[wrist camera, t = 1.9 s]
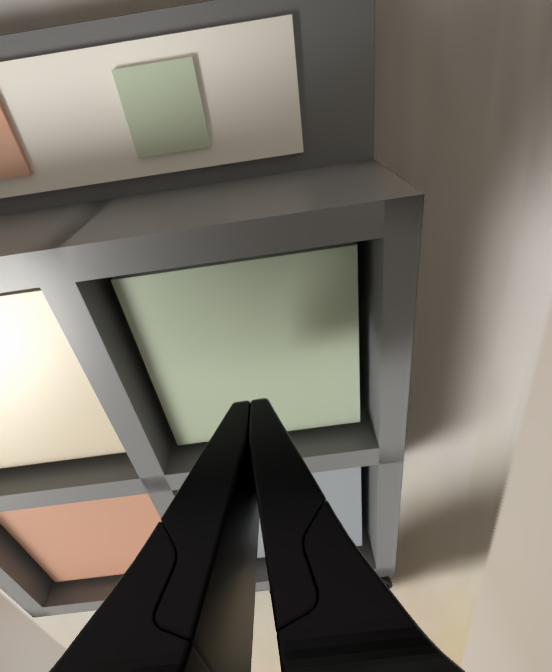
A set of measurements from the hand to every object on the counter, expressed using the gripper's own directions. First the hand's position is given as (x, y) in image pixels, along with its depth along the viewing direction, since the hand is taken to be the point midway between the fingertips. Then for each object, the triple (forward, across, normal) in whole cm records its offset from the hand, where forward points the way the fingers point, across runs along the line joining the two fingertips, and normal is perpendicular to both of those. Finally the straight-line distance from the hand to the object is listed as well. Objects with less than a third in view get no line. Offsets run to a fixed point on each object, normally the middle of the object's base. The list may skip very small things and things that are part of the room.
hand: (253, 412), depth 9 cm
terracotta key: (+3, +8, +8) cm, 11 cm away
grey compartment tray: (+7, +4, +2) cm, 8 cm away
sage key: (+3, 0, 0) cm, 3 cm away
